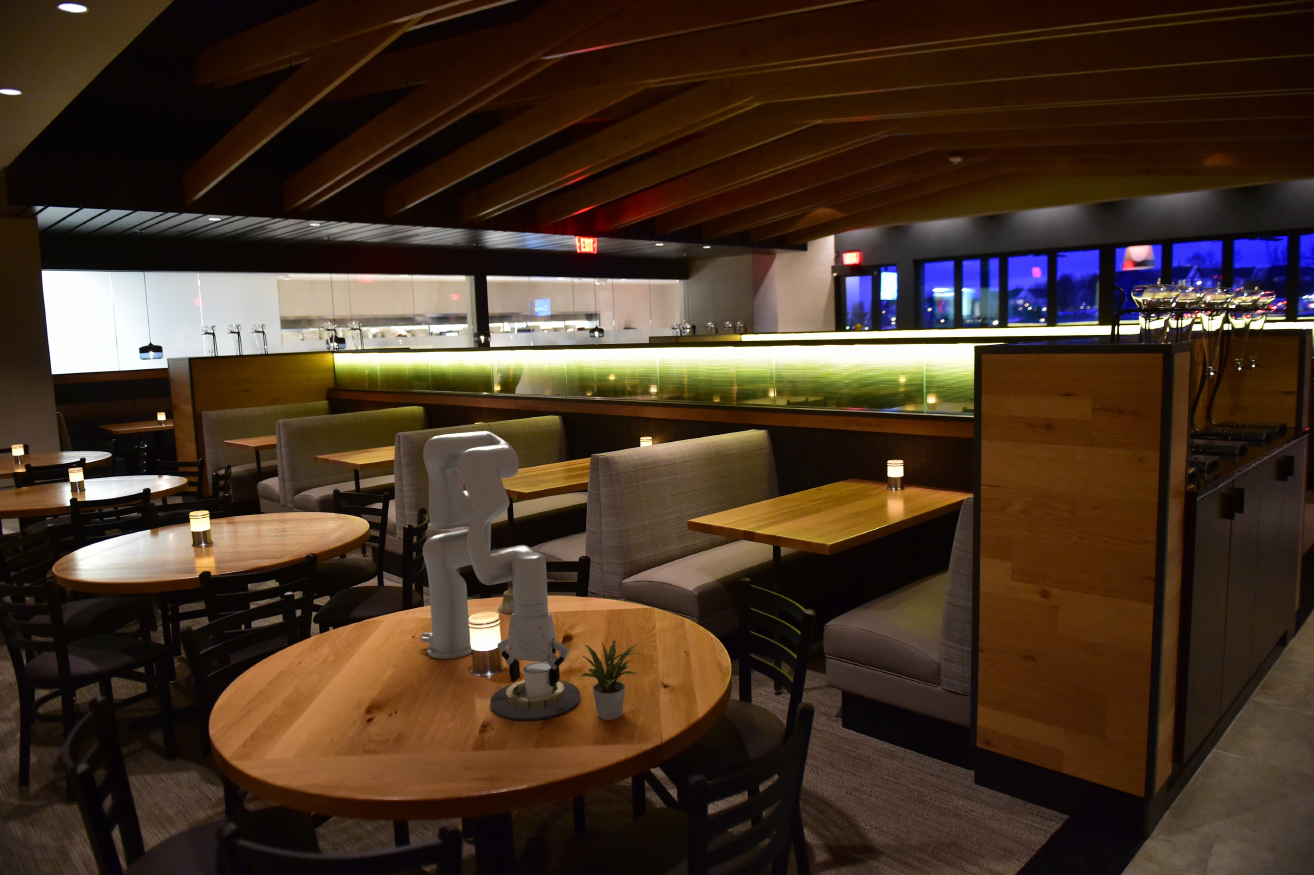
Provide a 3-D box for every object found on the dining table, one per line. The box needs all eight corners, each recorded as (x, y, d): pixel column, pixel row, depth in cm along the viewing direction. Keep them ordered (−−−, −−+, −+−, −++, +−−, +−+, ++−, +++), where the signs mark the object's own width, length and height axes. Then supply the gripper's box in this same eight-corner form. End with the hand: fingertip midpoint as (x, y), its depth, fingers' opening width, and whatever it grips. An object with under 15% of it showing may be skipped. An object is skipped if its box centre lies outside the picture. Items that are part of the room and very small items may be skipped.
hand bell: (529, 605, 260) (526, 554, 258) (519, 614, 252) (517, 562, 250) (503, 604, 262) (500, 554, 260) (493, 613, 254) (490, 561, 252)
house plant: (651, 727, 176) (649, 651, 174) (585, 735, 173) (582, 659, 171) (638, 699, 190) (636, 629, 188) (577, 706, 187) (574, 635, 185)
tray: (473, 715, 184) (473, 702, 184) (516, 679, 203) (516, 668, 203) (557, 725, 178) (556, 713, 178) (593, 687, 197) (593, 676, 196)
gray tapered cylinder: (558, 691, 193) (557, 661, 192) (550, 704, 186) (549, 673, 186) (529, 690, 194) (527, 661, 193) (520, 703, 187) (519, 673, 186)
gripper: (488, 610, 187) (492, 684, 189) (559, 616, 182) (562, 692, 184) (504, 600, 194) (508, 671, 196) (573, 605, 189) (576, 679, 191)
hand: (534, 681), depth 190 cm, fingers open, 9 cm apart
